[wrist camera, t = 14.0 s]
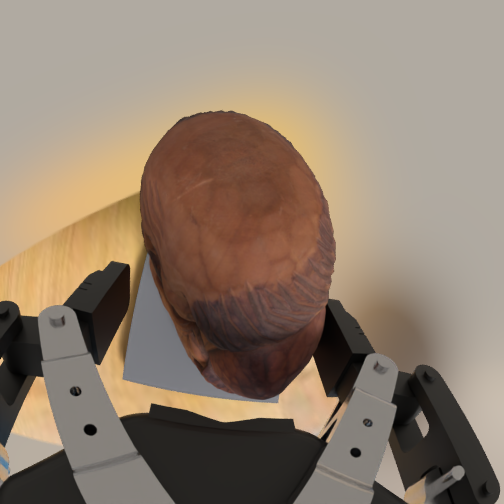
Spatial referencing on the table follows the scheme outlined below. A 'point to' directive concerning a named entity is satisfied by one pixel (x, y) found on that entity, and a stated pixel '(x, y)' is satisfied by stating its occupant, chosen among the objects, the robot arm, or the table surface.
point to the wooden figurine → (238, 249)
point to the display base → (163, 349)
